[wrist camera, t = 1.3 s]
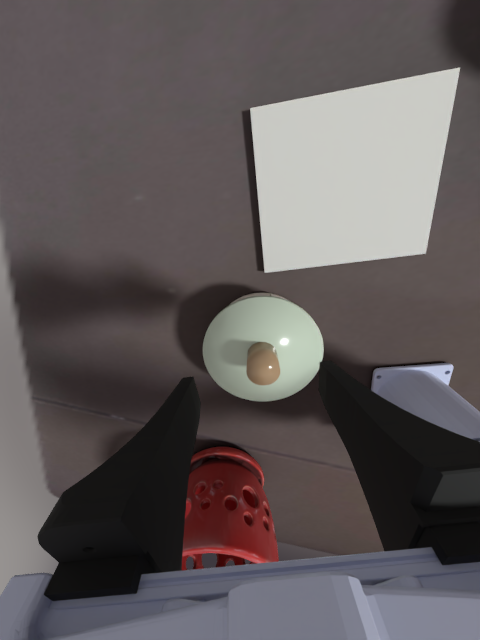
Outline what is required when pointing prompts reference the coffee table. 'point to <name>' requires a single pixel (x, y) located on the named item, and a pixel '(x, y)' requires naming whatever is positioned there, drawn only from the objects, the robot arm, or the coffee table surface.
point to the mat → (351, 171)
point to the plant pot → (227, 510)
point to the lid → (263, 348)
